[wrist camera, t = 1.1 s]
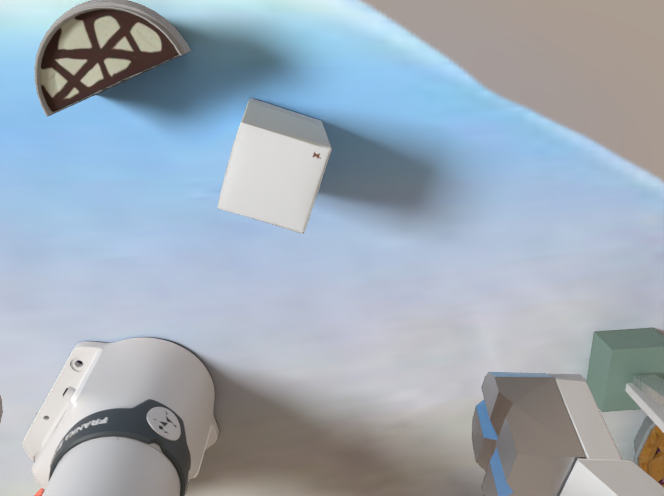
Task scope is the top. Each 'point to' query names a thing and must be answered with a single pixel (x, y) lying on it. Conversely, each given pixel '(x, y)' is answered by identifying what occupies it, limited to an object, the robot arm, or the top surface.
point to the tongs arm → (651, 386)
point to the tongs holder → (626, 370)
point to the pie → (650, 450)
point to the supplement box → (275, 166)
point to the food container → (101, 50)
